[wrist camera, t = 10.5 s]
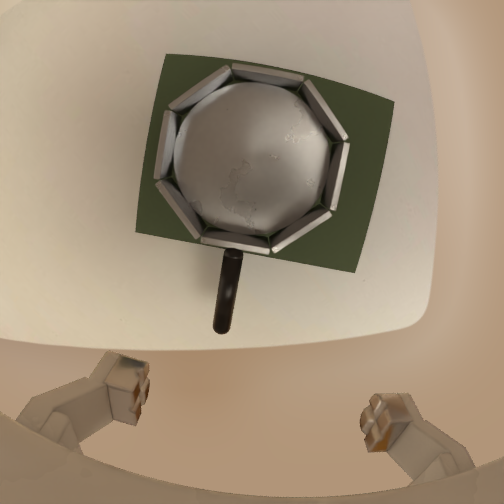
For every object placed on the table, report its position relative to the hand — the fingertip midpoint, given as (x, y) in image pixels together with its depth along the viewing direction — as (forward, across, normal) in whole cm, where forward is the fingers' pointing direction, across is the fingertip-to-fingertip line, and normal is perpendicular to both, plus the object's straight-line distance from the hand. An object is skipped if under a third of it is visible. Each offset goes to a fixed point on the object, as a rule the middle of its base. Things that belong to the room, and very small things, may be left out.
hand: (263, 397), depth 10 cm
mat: (+17, +1, -7) cm, 19 cm away
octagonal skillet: (+17, +2, -4) cm, 18 cm away
